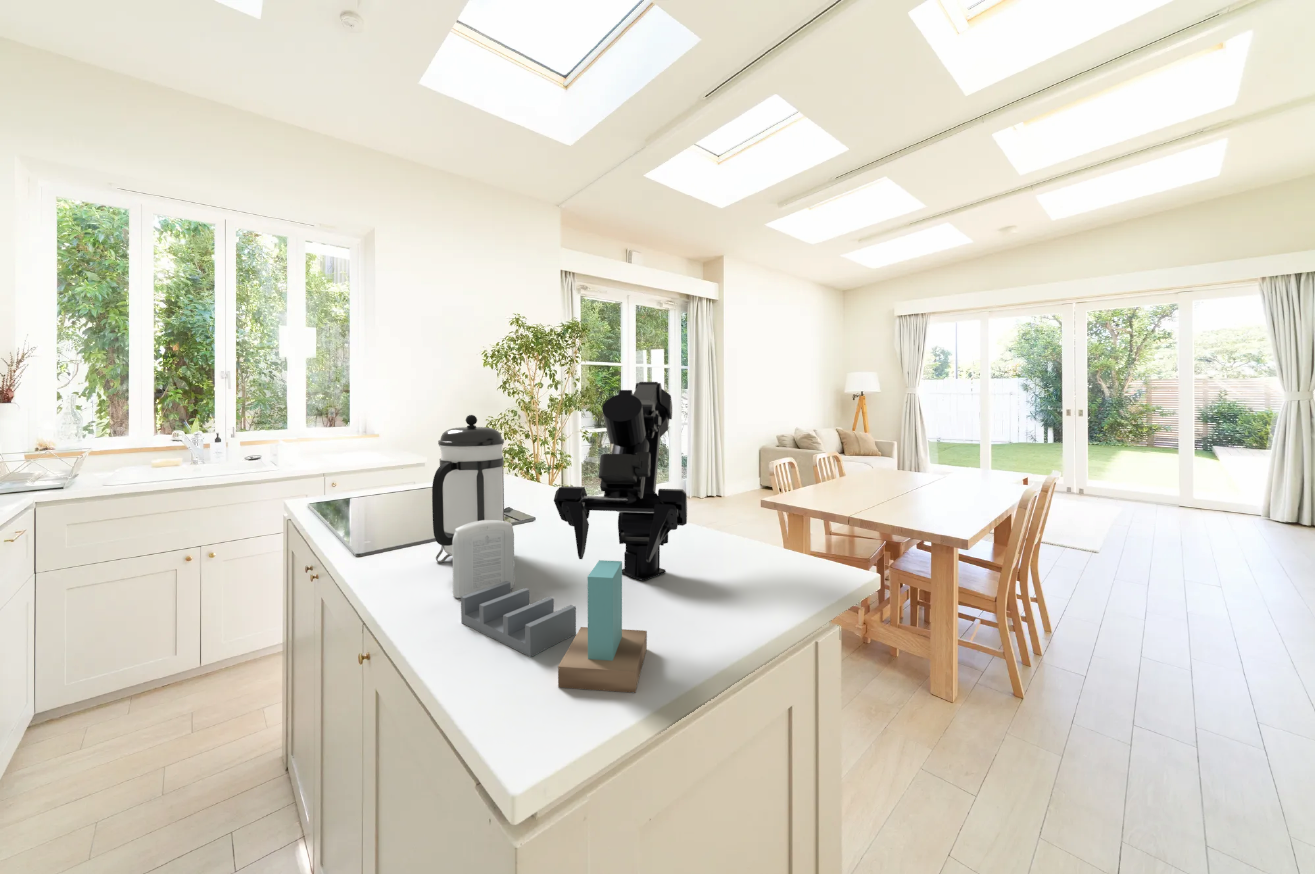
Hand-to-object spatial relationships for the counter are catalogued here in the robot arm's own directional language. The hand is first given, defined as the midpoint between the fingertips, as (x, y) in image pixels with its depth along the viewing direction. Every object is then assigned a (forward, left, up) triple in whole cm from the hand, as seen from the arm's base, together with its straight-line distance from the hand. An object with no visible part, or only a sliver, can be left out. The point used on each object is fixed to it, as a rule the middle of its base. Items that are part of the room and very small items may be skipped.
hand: (613, 559), depth 65 cm
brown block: (+4, +3, -12) cm, 13 cm away
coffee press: (-5, -49, -12) cm, 50 cm away
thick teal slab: (+4, +3, -9) cm, 11 cm away
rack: (+6, -14, -12) cm, 19 cm away
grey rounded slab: (+2, -31, -12) cm, 33 cm away
